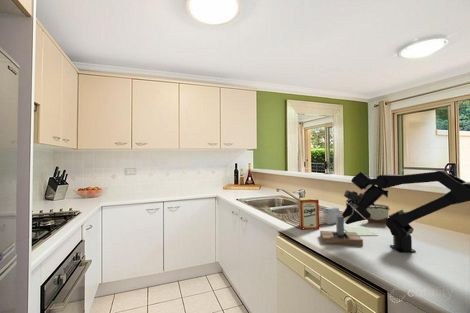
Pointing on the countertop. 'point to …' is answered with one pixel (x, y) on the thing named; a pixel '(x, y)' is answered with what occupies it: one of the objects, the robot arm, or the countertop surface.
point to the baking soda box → (308, 213)
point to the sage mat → (359, 230)
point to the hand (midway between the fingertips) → (343, 220)
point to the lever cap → (339, 226)
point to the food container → (378, 214)
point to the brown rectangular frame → (349, 239)
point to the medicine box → (330, 215)
